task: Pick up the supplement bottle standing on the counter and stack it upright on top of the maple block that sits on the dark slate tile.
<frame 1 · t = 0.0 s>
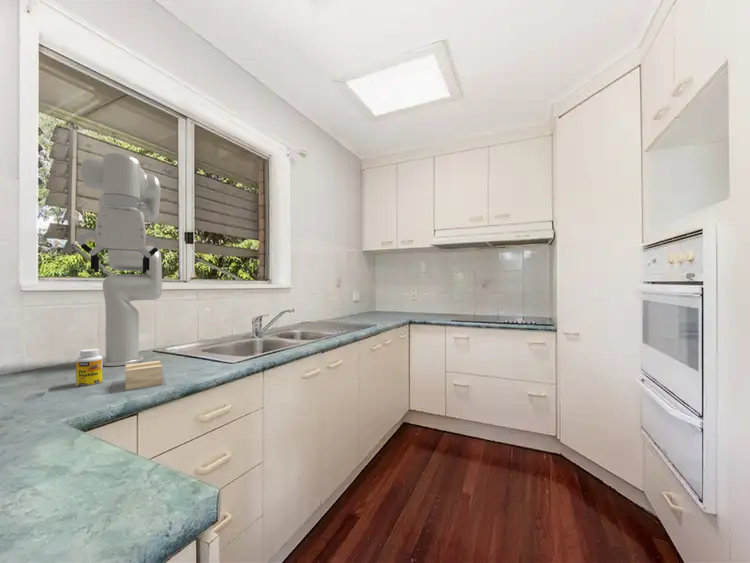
hand: (121, 272, 85), 31 cm above the countertop, tool pointing down, fingers open, 9 cm apart
slate tile: (139, 386, 93), on the countertop
maple block: (143, 383, 92), point 1 cm above the countertop, touching slate tile
supplement bottle: (89, 387, 92), on the countertop
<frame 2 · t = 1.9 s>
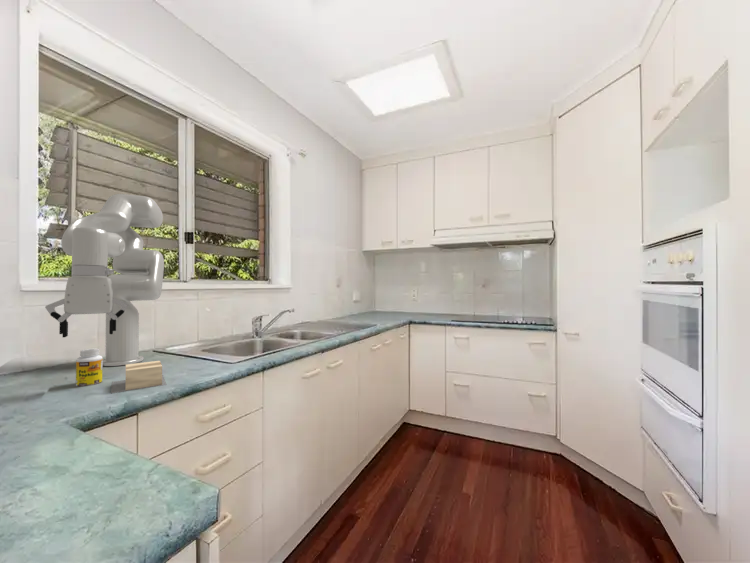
hand: (88, 335, 92), 14 cm above the countertop, tool pointing down, fingers open, 9 cm apart
nothing on the countertop moved.
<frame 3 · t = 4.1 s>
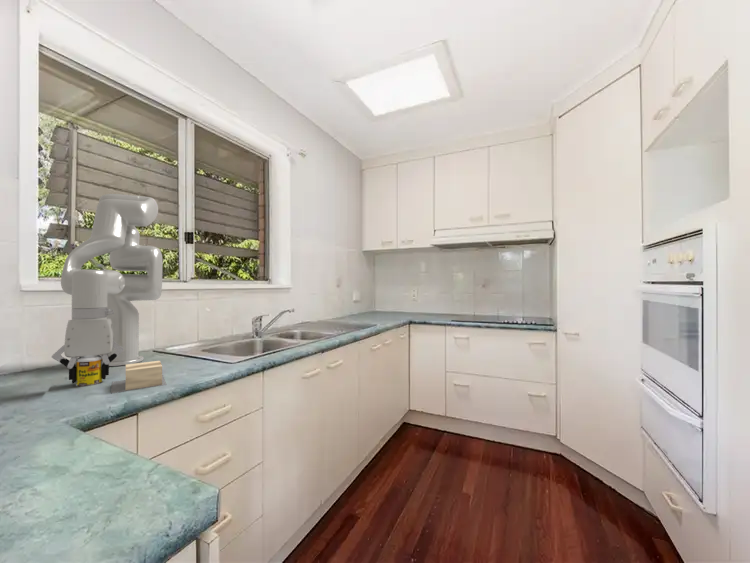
hand: (89, 379, 92), 2 cm above the countertop, tool pointing down, fingers closed on supplement bottle, 5 cm apart
supplement bottle: (89, 387, 92), on the countertop, touching gripper
everything else where it was.
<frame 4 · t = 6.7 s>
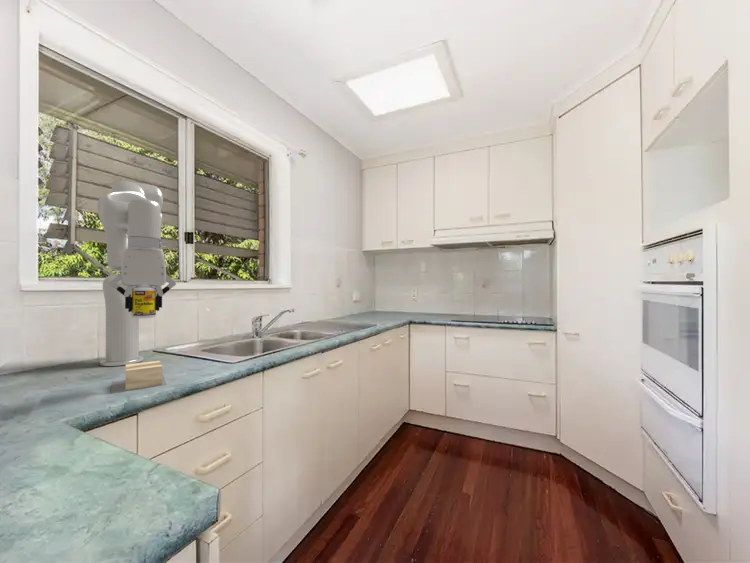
hand: (143, 310, 93), 21 cm above the countertop, tool pointing down, fingers closed on supplement bottle, 5 cm apart
supplement bottle: (143, 318, 92), point 19 cm above the countertop, touching gripper
everything else where it was.
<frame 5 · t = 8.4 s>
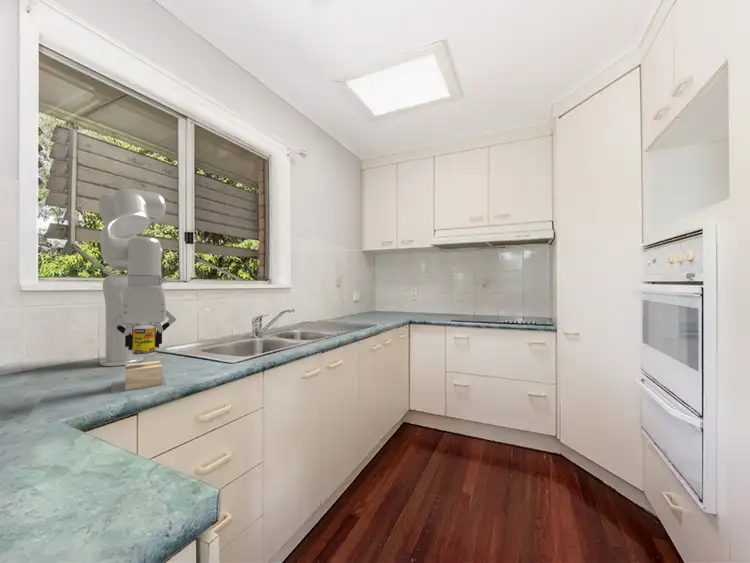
hand: (143, 347, 92), 11 cm above the countertop, tool pointing down, fingers closed on supplement bottle, 5 cm apart
supplement bottle: (143, 355, 92), point 9 cm above the countertop, touching gripper
everything else where it was.
when the fingers open (9 cm above the countertop, at t = 9.6 s): supplement bottle drops 1 cm, resting on maple block.
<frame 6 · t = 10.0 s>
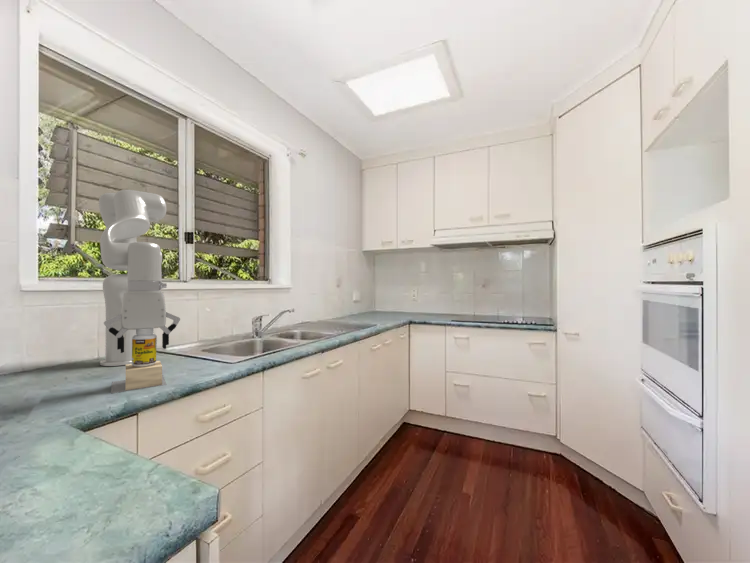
hand: (143, 349, 92), 10 cm above the countertop, tool pointing down, fingers open, 9 cm apart
maple block: (143, 383, 92), point 1 cm above the countertop, touching supplement bottle, slate tile
supplement bottle: (144, 365, 93), point 6 cm above the countertop, touching maple block
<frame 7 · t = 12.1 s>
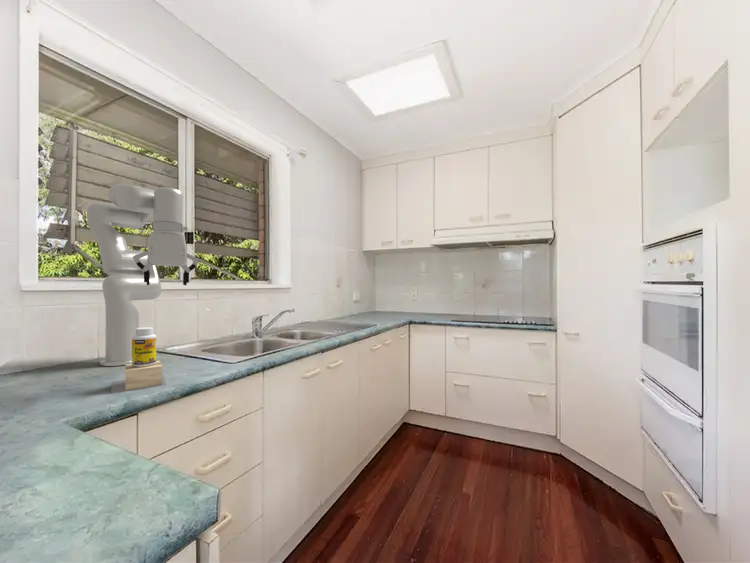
hand: (166, 285, 103), 28 cm above the countertop, tool pointing down, fingers open, 9 cm apart
nothing on the countertop moved.
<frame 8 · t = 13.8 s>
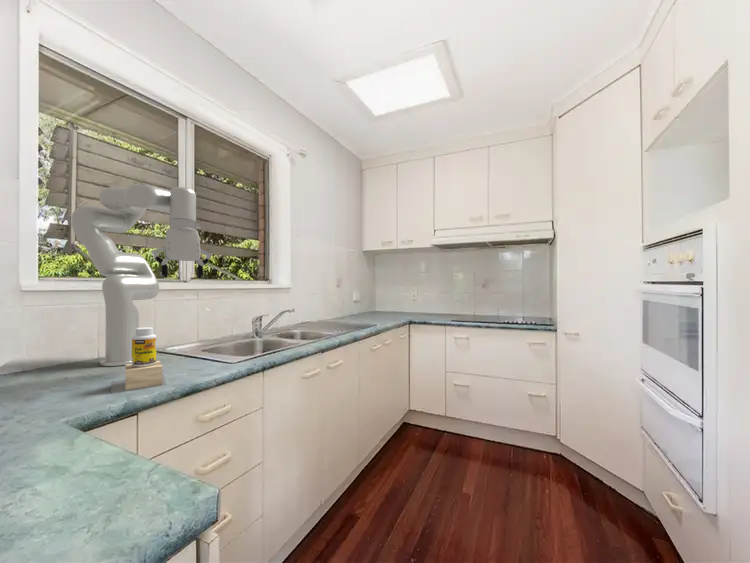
hand: (182, 278, 111), 30 cm above the countertop, tool pointing down, fingers open, 9 cm apart
nothing on the countertop moved.
at the end: supplement bottle 0.2 cm from the maple block (horizontally); supplement bottle point 5.8 cm above the countertop; supplement bottle tilted 0° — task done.
